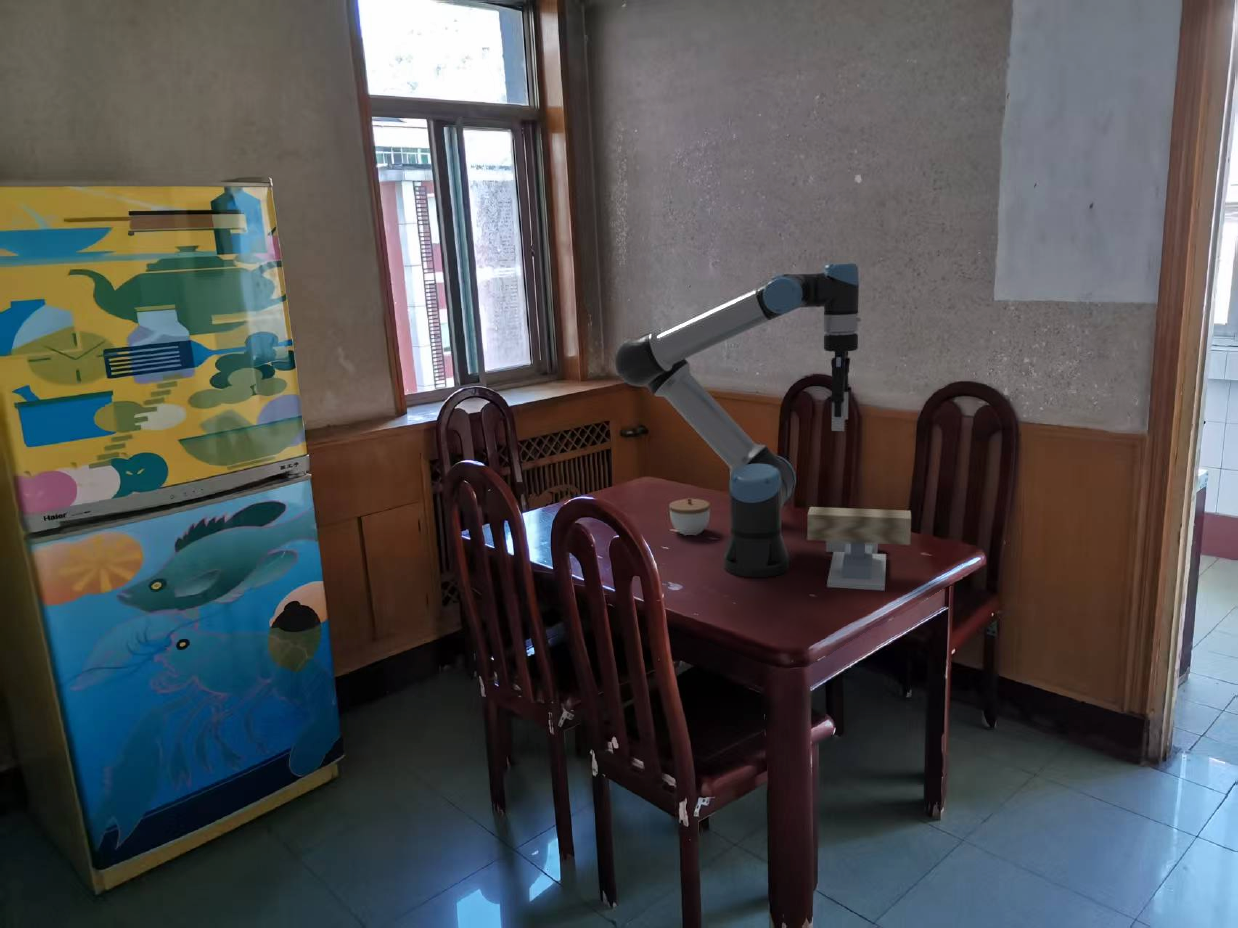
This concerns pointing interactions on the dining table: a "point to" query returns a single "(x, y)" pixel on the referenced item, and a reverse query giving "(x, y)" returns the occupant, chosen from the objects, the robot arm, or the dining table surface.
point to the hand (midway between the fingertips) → (840, 424)
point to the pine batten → (859, 525)
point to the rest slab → (840, 546)
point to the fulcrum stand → (857, 568)
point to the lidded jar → (689, 515)
